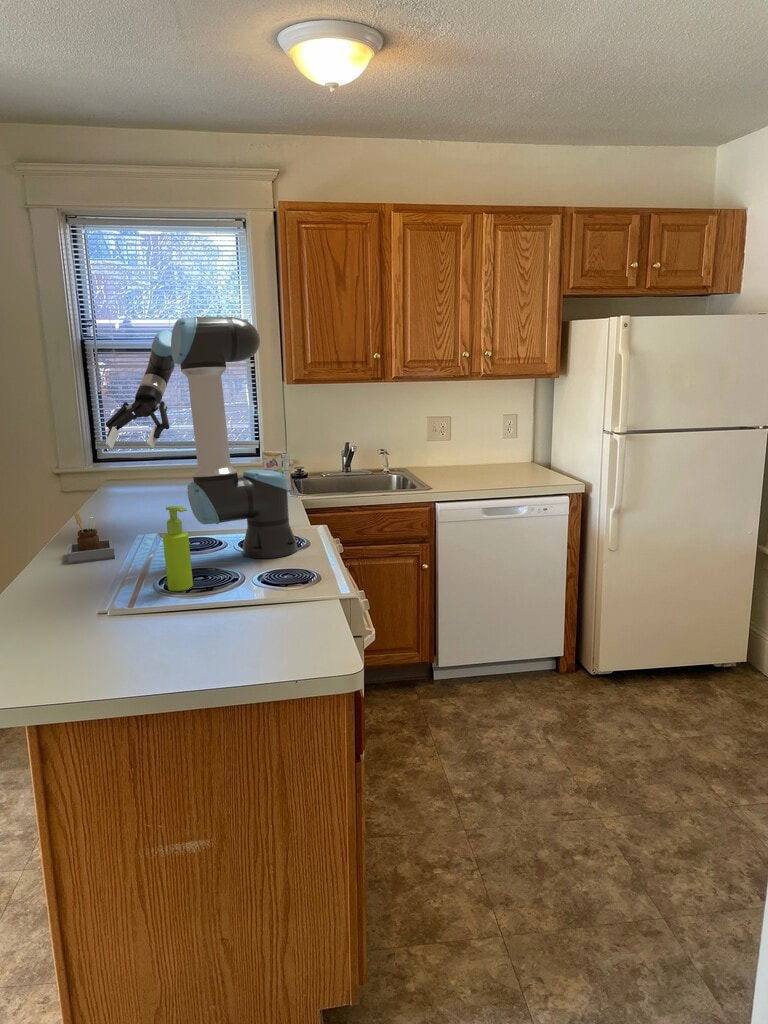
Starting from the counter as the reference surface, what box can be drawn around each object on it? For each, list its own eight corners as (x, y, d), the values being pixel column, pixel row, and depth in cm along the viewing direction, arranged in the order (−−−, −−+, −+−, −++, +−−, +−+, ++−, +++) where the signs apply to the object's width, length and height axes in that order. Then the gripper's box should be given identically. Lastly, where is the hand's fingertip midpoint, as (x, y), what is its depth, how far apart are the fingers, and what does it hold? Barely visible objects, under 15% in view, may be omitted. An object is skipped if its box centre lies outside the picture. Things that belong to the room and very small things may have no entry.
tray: (114, 558, 199) (113, 548, 199) (68, 564, 195) (67, 553, 194) (113, 548, 210) (112, 539, 209) (69, 554, 206) (68, 544, 205)
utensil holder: (91, 557, 199) (85, 516, 196) (73, 556, 201) (68, 515, 198) (105, 552, 204) (100, 511, 201) (88, 550, 206) (83, 510, 204)
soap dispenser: (182, 593, 167) (174, 510, 162) (162, 589, 170) (154, 507, 166) (201, 586, 171) (193, 505, 167) (181, 582, 175) (173, 503, 171)
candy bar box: (263, 490, 298) (261, 452, 295) (271, 488, 302) (269, 450, 299) (284, 492, 292) (281, 453, 289) (292, 490, 296) (289, 451, 293)
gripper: (192, 399, 221) (172, 453, 210) (120, 401, 226) (98, 454, 215) (182, 383, 215) (161, 437, 204) (109, 385, 220) (85, 438, 209)
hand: (129, 446), depth 209 cm, fingers open, 13 cm apart
